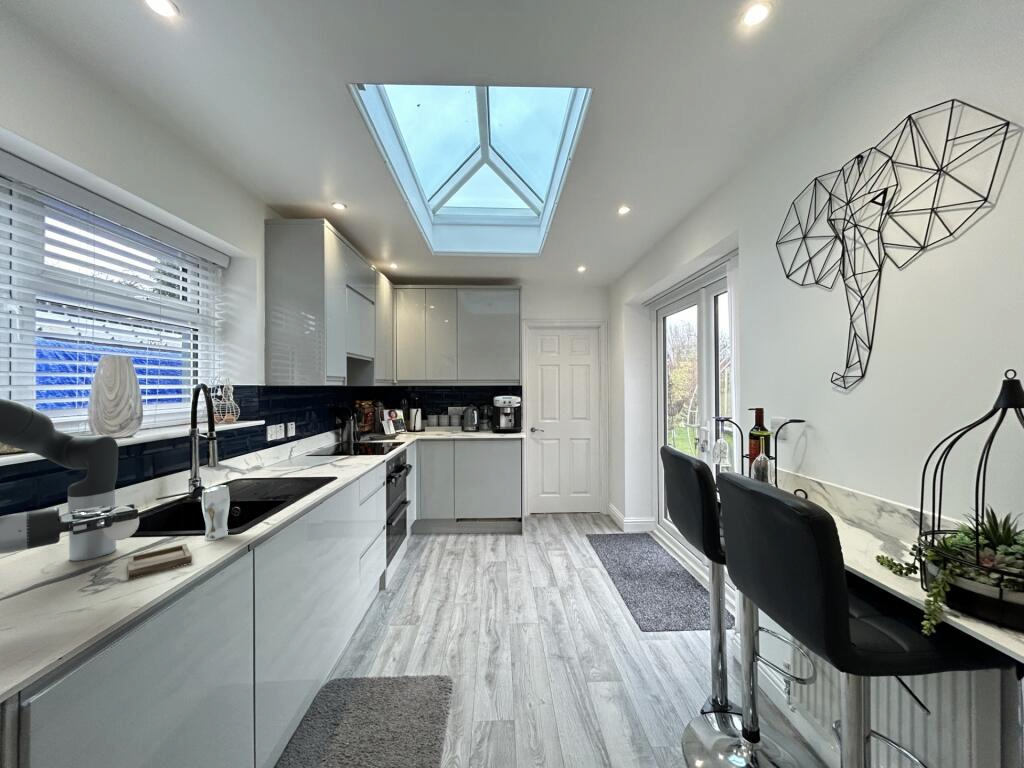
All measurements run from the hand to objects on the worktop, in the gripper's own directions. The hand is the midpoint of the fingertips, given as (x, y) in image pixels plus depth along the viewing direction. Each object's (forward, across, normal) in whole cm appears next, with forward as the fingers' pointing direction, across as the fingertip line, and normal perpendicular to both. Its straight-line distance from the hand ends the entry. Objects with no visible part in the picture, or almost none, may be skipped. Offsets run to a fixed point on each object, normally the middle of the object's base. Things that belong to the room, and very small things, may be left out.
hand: (135, 510), depth 96 cm
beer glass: (+21, +22, +17) cm, 35 cm away
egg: (-2, 0, +6) cm, 7 cm away
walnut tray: (+5, +10, +17) cm, 21 cm away
